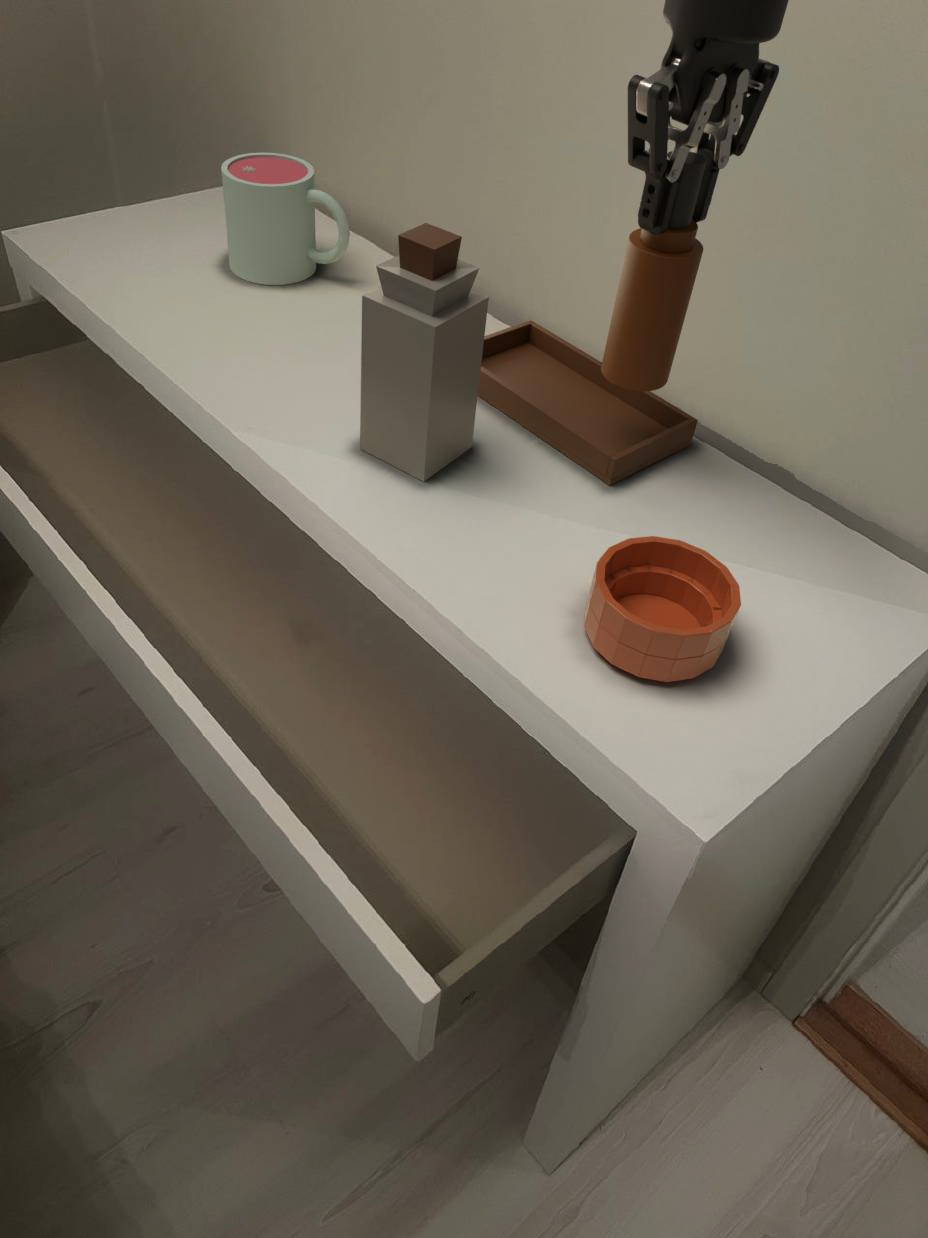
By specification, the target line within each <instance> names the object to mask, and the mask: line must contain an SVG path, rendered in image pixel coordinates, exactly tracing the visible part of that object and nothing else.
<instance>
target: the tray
mask: <svg viewBox="0 0 928 1238" xmlns="http://www.w3.org/2000/svg"><path fill="white" fill-rule="evenodd" d="M601 365H602V361H601V360H598V359H597V358H596V357H593V356H592V355H590V354H589V353H587V352H585V351H584V350H582V349H580V348H578V347H577V346H576V345H574V344H572V343H570V342H568V341H567V340H565V339H563V338H562V337H560V336H558V335H557V334H555V333H553V332H551V331H550V330H549V329H547V328H546V327H543V326H541V325H540V324H539V323H536V322H535V321H533V320H532V319H529V320H527V321H524V322H521V323H517V324H515V325H512V326H510V327H507V328H504V329H501V330H498V331H495V332H492V333H489V334H487V335H486V334H485V336H484V345H483V353H482V362H481V371H480V379H479V388H478V397H479V398H481V399H482V400H484V401H485V402H487V403H488V404H490V405H491V406H493V407H494V408H495V409H497V410H498V411H500V412H501V413H502V414H504V415H505V416H507V417H508V418H510V419H511V420H513V421H514V422H516V424H519V425H520V426H522V427H523V428H525V429H526V430H528V432H530V433H532V434H533V435H535V436H536V437H538V438H539V439H541V440H542V441H544V442H545V443H547V444H548V445H549V446H551V447H553V448H554V449H555V450H557V451H558V452H560V453H561V454H563V455H564V456H565V457H567V458H569V459H570V460H571V461H572V462H574V463H576V464H578V465H579V466H580V467H581V468H583V469H584V470H586V471H587V472H589V473H591V474H592V475H593V476H595V477H596V478H598V479H599V480H600V481H602V482H603V483H605V484H607V485H608V486H612V485H614V484H616V483H618V482H619V481H621V480H623V479H626V478H627V477H629V476H631V475H633V474H636V473H637V472H639V471H641V470H643V469H645V468H647V467H649V466H651V465H653V464H655V463H657V462H659V461H661V460H663V459H665V458H667V457H669V456H671V455H672V454H673V455H674V454H675V453H677V452H679V451H681V450H683V449H685V448H687V447H689V446H691V444H692V441H693V437H694V435H695V431H696V428H697V425H698V421H699V420H698V419H697V418H695V417H693V415H690V414H689V413H687V412H686V411H684V410H682V409H681V408H679V407H677V406H676V405H673V404H672V403H670V402H669V401H667V400H665V399H664V398H662V397H661V396H659V395H657V394H655V393H654V392H653V391H633V390H628V389H625V388H622V387H619V386H617V385H615V384H613V383H611V382H610V381H608V380H607V379H606V378H605V377H604V376H603V374H602V372H601Z"/></svg>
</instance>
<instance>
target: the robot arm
mask: <svg viewBox="0 0 928 1238" xmlns="http://www.w3.org/2000/svg"><path fill="white" fill-rule="evenodd" d="M789 2H790V1H789V0H664V6H663V9H662V16H663V19H664V21H665V23H666V24H667V25H669V27H670V30H671V34H672V36H671V40H670V43H669V46H668V48H667V50H666V52H665V54H664V56H663V58H662V61H661V64H660V69H659V70H658V71H656V72H655V73H653V74H651V75H650V76H649V77H645V76H642V75H639V74H634V75H633V76H632V77H631V78H630V79H629V81H628V85H627V163H628V166H630V167H633V168H635V169H636V170H640V171H642V172H644V175H645V180H644V185H643V189H642V193H641V194H642V195H641V198H640V203H639V207H638V212H637V224H638V227H639V229H640V228H642V229H644V230H646V231H648V232H650V233H652V234H654V235H659V234H662V233H664V232H666V230H667V228H668V224H669V220H670V216H671V211H672V207H673V203H674V199H675V195H676V191H677V187H678V183H679V182H678V181H676V180H677V179H678V178H679V176H680V173H681V171H682V168H683V166H684V163H685V160H686V158H687V155H688V153H689V151H691V152H694V153H697V154H700V155H702V156H703V157H705V158H706V160H707V162H706V166H705V170H704V174H703V178H702V182H701V185H700V189H699V193H698V197H697V201H696V205H695V209H694V213H693V216H692V219H693V220H694V221H695V222H696V223H697V224H698V223H700V222H703V221H705V220H706V219H707V216H708V212H709V210H710V209H709V208H710V206H711V203H712V199H713V195H714V193H715V192H714V190H715V188H716V185H717V181H718V177H719V173H720V170H723V169H724V168H725V167H726V166H727V165H728V163H729V161H730V157H731V156H733V155H734V156H736V157H741V156H742V155H743V153H744V152H745V150H746V148H747V147H748V144H749V142H750V139H751V137H752V135H753V132H754V130H755V128H756V126H757V124H758V121H759V119H760V117H761V115H762V113H763V110H764V108H765V106H766V103H767V101H768V98H769V97H770V94H771V92H772V90H773V88H774V86H775V84H776V81H777V79H778V76H779V74H780V66H779V65H778V64H775V63H772V62H770V61H768V60H765V59H763V58H760V44H763V43H767V42H770V41H772V40H773V39H775V38H776V37H777V36H778V35H779V33H780V32H781V28H782V26H783V21H784V18H785V15H786V10H787V8H788V4H789ZM741 117H743V118H742V121H741ZM671 120H672V121H675V122H678V123H680V124H683V125H685V126H687V127H686V128H685V129H681V128H678V127H676V126H673V125H672V123H671ZM669 140H670V141H672V142H673V143H674V147H673V150H672V151H673V152H672V154H671V157H670V160H668V159H667V154H668V147H669V144H668V143H669ZM646 142H647V143H648V145H649V146H648V147H647V150H646ZM691 149H692V150H691Z"/></svg>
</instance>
